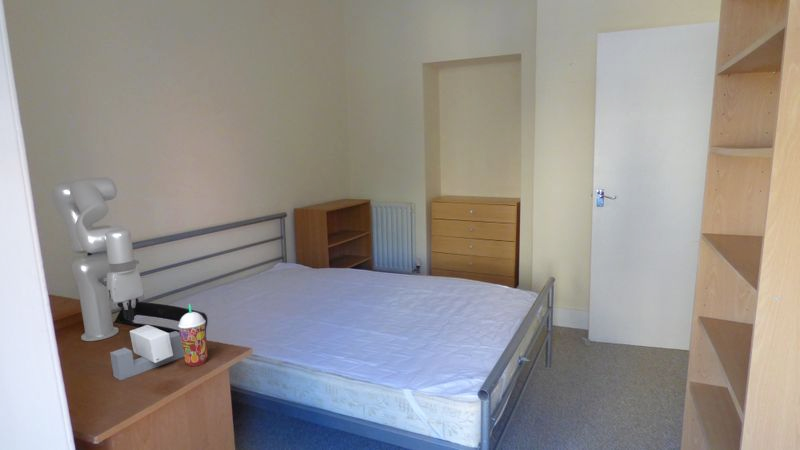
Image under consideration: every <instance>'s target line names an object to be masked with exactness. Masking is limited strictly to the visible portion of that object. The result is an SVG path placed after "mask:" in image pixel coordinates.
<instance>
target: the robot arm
mask: <svg viewBox="0 0 800 450" xmlns="http://www.w3.org/2000/svg"><path fill="white" fill-rule="evenodd" d="M117 192H118V189H117V186H116V184H115V182H114V181H113V180H112V179H111V178H109V177H108V176H107V177H106V176H105V177H91V178H89V177H88V178H81V179H77V180H75V181H68V182H67V181H66V182H61V183H58V184H55V185H54V186H53V187H52V188H51V199H52V202H53V204H54V206H55V208H56V210H57V211H58V213H59V215H60V216H61V218H62V220H63V222H64V225H65V230H66V233H67V237H68V238H67V239H68V241H69V244H70V247H71V249H72V251H73V252H74V253H75V254H87V253H89V255H85V256H81V257H78V258H76V259H75V260H73V262H72V264H71V271H72V274H73V278H74V280H75V283H76V287H77V291H78V297H79V302H80V308H81V315H82V320H83V326H84V333H83V334H82V335H81V336H80V337H81V340H82V341H85V342H95V341H101V340H105V339H109V338H112V337H114V336H115V335H117V334H118V333H119V332H120V331H119V328H118V327H116V326H114V322H113V315H112V310H111V307H112V308H120V309H122V312H123V313H122V314H123V318H124V319H125V320H127V321H129V322H131V321H134V320H135V317H136V312H135V310H136V309H135V308H136V305H137V304H138V303H139V301H142V300H144V299H145V296H144V293H145V291H144V285H143V281H142V277H141V274H140V270H139V268H137V265H139V264H140V261H139V260H137V259H135V256H134V255H135V254H134V249H133V247H134V246H133V241H132V235H131V231H129V230H128V229H126V228H125V227H124V226H111V225H107V224H103V225H95V226H94V224H95V223H98V222H99V221H101V220H102V219H104V218H105V217H106V216H107V215H108V213H109V211H110V209H109V205H108V204H107V201H112V200H114V199H115V198H116V197H117V194H118V193H117ZM99 252H100V253H99ZM101 252H103V253H101ZM95 253H97V254H95ZM98 253H99V254H98ZM102 279H106V286H105V285H104V284H103V283H102V282H100V281H99V280H102Z"/></svg>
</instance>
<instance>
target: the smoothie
mask: <svg viewBox="0 0 800 450" xmlns="http://www.w3.org/2000/svg"><path fill="white" fill-rule="evenodd" d="M191 304H192V303H191ZM191 304H190V303H188V312H187V313H185V314H184V315H182V316H181V318H180V319H179V323H178V324H177V327H178V332H179V333H180V337H181V342H182V347H183V352H184V357H183V358H184V361H185V363H186V364H187V366H189V367H190V366H191V367H197V366H200V365H203V364H205V363H206V361H207V359H208V345H207V343H208V342H207V340H208V339H207V328H206V327H207V324H206V323H207V321H206V319H205V318H204V317H203V315H202V314H200V313H199V312H196V311H192V305H191Z"/></svg>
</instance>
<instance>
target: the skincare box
mask: <svg viewBox="0 0 800 450" xmlns="http://www.w3.org/2000/svg"><path fill="white" fill-rule="evenodd" d="M169 333H170V332H166V331H164V330H161V329H159V328H157V327H154V326H153V325H149V324H145V325H143V326H141V327H137V328H135V329H132V330H129V336H130V341H131V345H132V349H133V350H132V352H133V353H134V354H136V355H138V356H140V357H144V358H146V359H148V360H150V361H152V362H154V363H157V362H159V361H161V360H163V359H166V358H168V357H170V356H173V352H172V347H171V342H170V337H169Z"/></svg>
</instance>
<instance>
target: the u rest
mask: <svg viewBox="0 0 800 450" xmlns="http://www.w3.org/2000/svg"><path fill="white" fill-rule="evenodd" d="M168 333H169V337H170V342H171V347H172V352H173V356H170V357H168V358H166V359H163V360H161V361H159V362H157V363H154V362H152V361H150V360H148V359H146V358H144V357H142V356H140V357H138V358H136V359H134V356H133V350H131V349H128V348H127V347H122V348H120V349H116V350H112V351H110V353H109V355H110V361H111V368H112V372H113V374H112V375H113V377H114V378H116V379H117V380H118V381H124V380H126V379H128V378H131V377H133V376H137V375H139V374H142V373H144V372H147V371H149V370H152V369H153V370H154V369H155V368H158V367H160V366H163V365H165V364H168V363H170V362H174V361H176V360H179V359H182V358H185V357H184V352H183V347H182V342H181V337H180V332H179V331H176V330H174V331H171V332H168Z"/></svg>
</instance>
